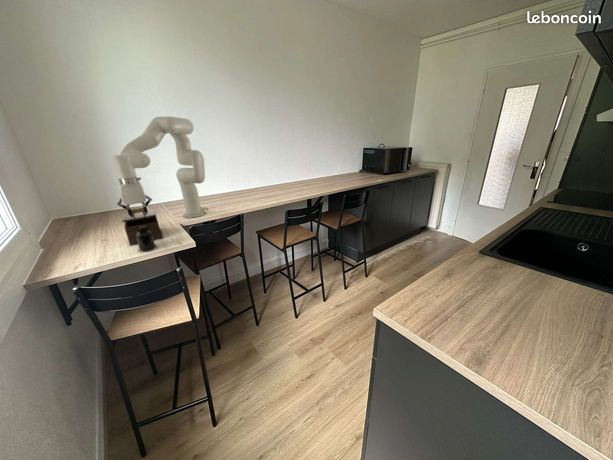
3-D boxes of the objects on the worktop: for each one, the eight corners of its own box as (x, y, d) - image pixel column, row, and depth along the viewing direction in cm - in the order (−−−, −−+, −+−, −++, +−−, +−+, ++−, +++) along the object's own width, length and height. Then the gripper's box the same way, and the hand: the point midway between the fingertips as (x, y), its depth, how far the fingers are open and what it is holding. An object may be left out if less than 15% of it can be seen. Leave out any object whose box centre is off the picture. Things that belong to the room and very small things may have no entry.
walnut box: (162, 238, 138) (157, 221, 134) (130, 245, 130) (124, 228, 126) (159, 229, 150) (155, 213, 146) (130, 235, 142) (124, 218, 138)
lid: (156, 216, 132) (153, 206, 130) (122, 222, 124) (119, 211, 123) (155, 213, 145) (152, 204, 144) (124, 218, 138) (121, 209, 137)
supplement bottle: (157, 248, 127) (151, 226, 122) (142, 253, 122) (135, 230, 118) (152, 244, 131) (146, 223, 126) (138, 248, 127) (131, 227, 122)
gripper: (148, 177, 130) (157, 210, 137) (107, 181, 121) (119, 216, 129) (149, 179, 124) (158, 214, 132) (106, 184, 116) (119, 221, 123)
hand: (139, 215), depth 130 cm, fingers closed on lid, 5 cm apart
